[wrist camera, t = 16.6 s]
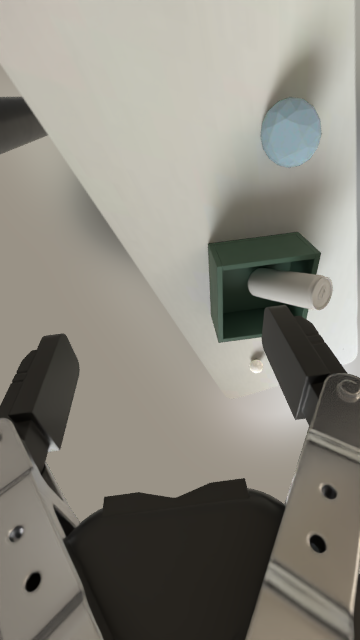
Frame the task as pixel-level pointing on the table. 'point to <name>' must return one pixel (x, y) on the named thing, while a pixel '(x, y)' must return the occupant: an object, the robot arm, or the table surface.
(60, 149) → the table surface
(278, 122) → the gemstone
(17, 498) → the robot arm
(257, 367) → the polyhedron
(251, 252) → the bin
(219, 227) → the table surface
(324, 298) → the beverage can
